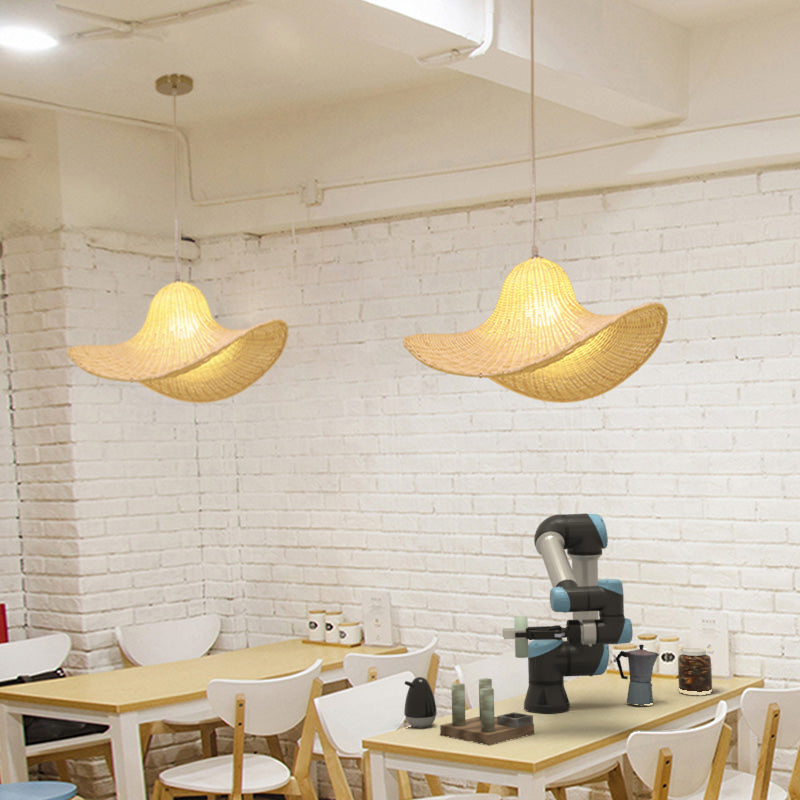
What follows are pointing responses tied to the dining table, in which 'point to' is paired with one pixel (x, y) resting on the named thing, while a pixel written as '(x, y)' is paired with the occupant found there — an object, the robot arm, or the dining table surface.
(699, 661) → the jar
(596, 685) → the dining table surface
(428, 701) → the pump dispenser
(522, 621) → the green leg
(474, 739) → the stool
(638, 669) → the moka pot
